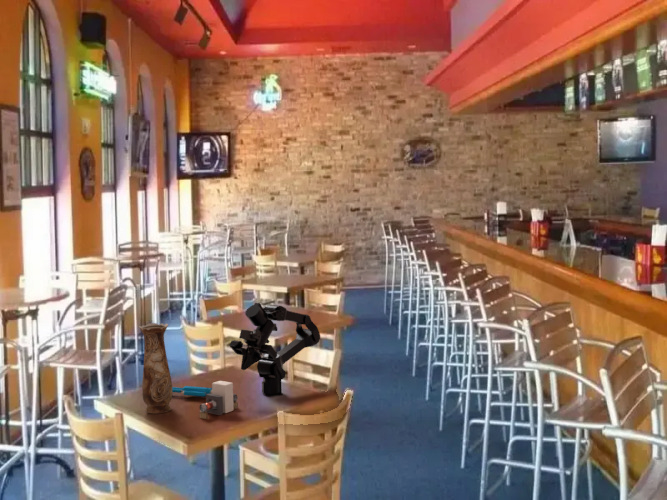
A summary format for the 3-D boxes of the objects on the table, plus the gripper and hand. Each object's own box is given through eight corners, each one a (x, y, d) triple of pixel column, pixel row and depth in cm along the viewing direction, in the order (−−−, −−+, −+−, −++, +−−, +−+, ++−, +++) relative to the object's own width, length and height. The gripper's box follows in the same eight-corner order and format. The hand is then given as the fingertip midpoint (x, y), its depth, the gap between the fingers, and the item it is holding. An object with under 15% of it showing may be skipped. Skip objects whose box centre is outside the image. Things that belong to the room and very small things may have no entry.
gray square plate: (209, 411, 278) (209, 393, 278) (222, 414, 275) (222, 396, 274) (206, 412, 277) (205, 394, 276) (219, 415, 273) (219, 397, 273)
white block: (220, 407, 283) (220, 380, 282) (233, 410, 279) (232, 382, 278) (212, 410, 279) (212, 382, 278) (225, 413, 276) (224, 385, 275)
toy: (152, 398, 299) (227, 404, 290) (152, 383, 298) (226, 388, 289) (163, 392, 306) (236, 398, 297) (163, 378, 306) (235, 383, 297)
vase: (164, 415, 275) (161, 328, 273) (136, 413, 278) (133, 327, 276) (178, 407, 285) (175, 323, 283) (150, 405, 288) (148, 322, 286)
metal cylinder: (231, 406, 285) (231, 392, 285) (237, 407, 283) (237, 394, 283) (199, 417, 272) (199, 403, 272) (206, 419, 270) (205, 404, 270)
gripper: (232, 318, 295) (211, 353, 287) (271, 323, 284) (251, 359, 276) (246, 336, 302) (227, 371, 294) (285, 341, 292) (266, 377, 283)
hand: (242, 369), depth 287 cm, fingers closed
